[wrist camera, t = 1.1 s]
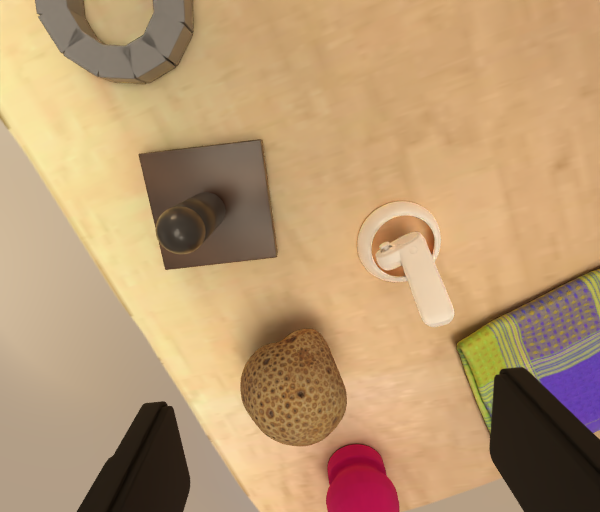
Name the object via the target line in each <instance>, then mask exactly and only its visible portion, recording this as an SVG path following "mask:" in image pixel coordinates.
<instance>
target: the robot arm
mask: <svg viewBox="0 0 600 512" xmlns="http://www.w3.org/2000/svg"><path fill="white" fill-rule="evenodd" d="M490 455H491V458H492V461H493V463H494V464H495V466H496V468H497V469H498V471H499V472H500V474H501V475H502V477H503V479H504V480H505V482H506V483H507V485H508V487H509V488H510V490H511V491H512V493H513V494H514V496H515V498H516V499H517V501H518V502H519V504H520V506H521V507H522V509H523V510H524V512H600V440H599V439H598V438H597V437H596V436H595V435H594V434H593V433H592V432H591V431H590V430H589V429H588V428H587V427H586V426H585V425H584V424H583V423H582V422H581V421H580V420H579V419H578V418H577V417H576V416H575V415H574V414H572V413H571V412H570V411H569V410H568V409H567V408H566V407H565V406H564V405H563V404H562V403H561V402H560V401H559V400H558V399H557V398H556V397H555V396H554V395H553V394H552V393H551V392H550V391H549V390H548V389H547V388H545V387H544V386H543V385H542V384H541V383H540V382H539V381H538V380H537V379H536V378H535V377H534V376H533V375H532V374H531V373H530V372H529V371H528V370H527V369H525V368H524V367H515V368H505V369H501V370H500V372H499V374H498V375H495V377H494V388H493V403H492V419H491V434H490ZM189 489H190V476H189V471H188V467H187V463H186V459H185V455H184V450H183V446H182V442H181V438H180V434H179V430H178V426H177V421H176V418H175V413H174V409H173V407H172V406H167V404H166V402H154V403H145V404H143V405H142V407H141V409H140V410H139V412H138V414H137V415H136V417H135V419H134V421H133V422H132V424H131V426H130V428H129V430H128V431H127V433H126V435H125V437H124V438H123V440H122V441H121V444H120V445H119V447H118V449H117V450H116V452H115V454H114V455H113V456H112V457H111V458H109V459H108V460H107V462H106V463H105V465H104V466H103V468H102V470H101V471H100V473H99V475H98V477H97V478H96V480H95V482H94V483H93V485H92V487H91V488H90V490H89V492H88V494H87V495H86V497H85V499H84V500H83V502H82V504H81V505H80V507H79V509H78V510H77V512H183V510H184V507H185V504H186V500H187V497H188V494H189Z"/></svg>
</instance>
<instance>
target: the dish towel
mask: <svg viewBox="0 0 600 512" xmlns="http://www.w3.org/2000/svg"><path fill="white" fill-rule="evenodd" d="M456 349H457V351H458V352H459V355H460V358H461V361H462V365H463V367H464V370H465V373H466V376H467V378H468V381H469V383H470V386H471V389H472V391H473V394H474V397H475V399H476V402H477V404H478V407H479V409H480V412H481V414H482V416H483V419H484V421H485V423H486V425H487V428H488V430H489V432H490V434H491V419H492V403H493V388H494V377H495V375H498V374H499V372H500V370H501V369H505V368H515V367H524V368H525V369H527V370H528V371H529V372H530V373H531V374H532V375H533V376H534V377H535V378H536V379H537V380H538V381H539V382H540V383H541V384H542V385H543V386H544V387H545V388H547V389H548V390H549V391H550V392H551V393H552V394H553V395H554V396H555V397H556V398H557V399H558V400H559V401H560V402H561V403H562V404H563V405H564V406H565V407H566V408H567V409H568V410H569V411H570V412H571V413H572V414H574V415H575V416H576V417H577V418H578V419H579V420H580V421H581V422H582V423H583V424H584V425H585V426H586V427H587V428H588V429H589V430H590V431H591V432H592V433H594V432H596V431H599V430H600V269H597V270H594V271H591V272H589V273H587V274H585V275H583V276H580V277H578V278H576V279H574V280H572V281H569V282H567V283H566V284H564V285H561V286H559V287H557V288H556V289H554V290H552V291H550V292H548V293H546V294H544V295H542V296H540V297H538V298H536V299H534V300H533V301H531V302H529V303H526V304H525V305H523V306H521V307H519V308H516V309H515V310H513V311H511V312H509V313H507V314H505V315H503V316H501V317H499V318H497V319H495V320H493V321H491V322H489V323H488V324H486V325H485V326H483V327H482V328H480V329H478V330H477V331H476V332H474V333H472V334H470V335H469V336H468V337H466V338H464V339H462V340H461V341H460V342H458V343H457V348H456Z"/></svg>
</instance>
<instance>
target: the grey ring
mask: <svg viewBox="0 0 600 512" xmlns="http://www.w3.org/2000/svg"><path fill="white" fill-rule="evenodd" d="M35 3H36V10H37V14H39V15H40V16H38V18H39V19H40V21H41V22H42V24H43V25H44V27H45V29H46V30H47V32H48V33H49V35H50V36H51V38H52V40H53V41H54V43H55V44H56V46H57V47H58V49H59V51H60V52H61V53H63V54H64V56H65V57H67V58H68V59H70V60H71V61H73V62H75V63H76V64H78V65H79V66H81V67H82V68H84V69H86V70H87V71H89V72H90V73H92V74H93V75H95V76H97V77H100V78H103V79H106V80H108V81H112V82H115V83H135V84H146V82H147V83H150V82H152V81H154V80H155V79H157V78H159V77H160V76H162V75H164V74H165V73H167V72H169V71H170V70H172V69H174V68H175V65H174V64H176V65H178V64H179V62H180V60H181V58H182V56H183V54H184V52H185V49H186V47H187V45H188V43H189V41H190V39H191V37H192V35H193V34H192V33H191V32H193V6H192V0H153V9H154V13H153V15H152V17H151V20H150V22H149V24H148V26H147V28H146V30H145V33H144V35H142V36H141V37H139V38H137V39H136V40H134V41H132V42H131V43H129V44H128V45H126V46H120V45H105V44H104V43H102V42H101V41H99V40H98V39H97V37H96V35H95V34H94V32H93V31H92V29H91V27H90V26H89V24H88V22H87V21H86V19H85V12H84V3H83V0H35Z"/></svg>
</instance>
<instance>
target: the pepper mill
mask: <svg viewBox="0 0 600 512" xmlns="http://www.w3.org/2000/svg"><path fill="white" fill-rule="evenodd" d="M328 478H329V485H330V487H329V489H328V492H327V496H326V504H327V510H328V512H399V501H398V496H397V492H396V489H395V487H394V485H393V483H392V482H391V480H390V479H389V478H388V477H387V476H386V471H385V467H384V464H383V460H382V458H381V456H380V455H379V453H378V452H377V451H376V450H374V449H373V448H371V447H369V446H365V445H361V444H353V445H347V446H345V447H343V448H340V449H339V450H337V451H336V452H335V453H334V454H333V455H332V457H331V458H330V460H329V462H328Z"/></svg>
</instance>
